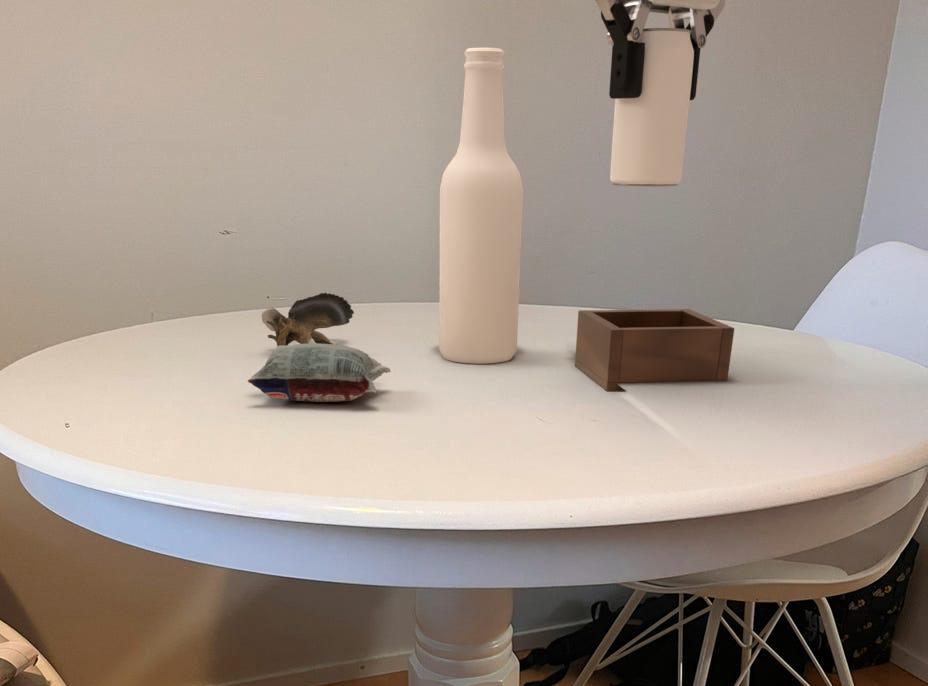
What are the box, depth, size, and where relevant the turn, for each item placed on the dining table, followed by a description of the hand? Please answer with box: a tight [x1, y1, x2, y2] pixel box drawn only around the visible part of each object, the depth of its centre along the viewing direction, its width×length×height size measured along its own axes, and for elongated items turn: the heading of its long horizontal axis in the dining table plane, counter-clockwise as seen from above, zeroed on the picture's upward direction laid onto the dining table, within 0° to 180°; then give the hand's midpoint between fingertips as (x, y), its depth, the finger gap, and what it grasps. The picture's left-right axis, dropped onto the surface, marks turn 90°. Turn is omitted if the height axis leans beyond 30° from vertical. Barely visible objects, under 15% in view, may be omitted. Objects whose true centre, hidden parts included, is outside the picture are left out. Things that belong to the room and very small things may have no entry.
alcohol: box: [438, 47, 524, 365], centre depth 104 cm, size 9×9×30 cm
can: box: [609, 27, 694, 187], centre depth 86 cm, size 6×6×12 cm
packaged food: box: [247, 343, 391, 403], centre depth 91 cm, size 9×12×5 cm
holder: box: [574, 308, 735, 392], centre depth 101 cm, size 12×12×6 cm
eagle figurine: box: [260, 292, 355, 348], centre depth 111 cm, size 8×7×9 cm
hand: (652, 97), depth 86 cm, fingers closed on can, 6 cm apart
